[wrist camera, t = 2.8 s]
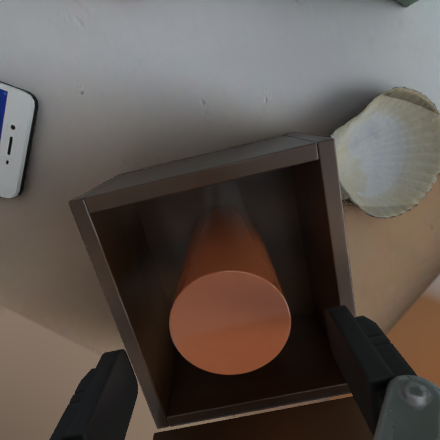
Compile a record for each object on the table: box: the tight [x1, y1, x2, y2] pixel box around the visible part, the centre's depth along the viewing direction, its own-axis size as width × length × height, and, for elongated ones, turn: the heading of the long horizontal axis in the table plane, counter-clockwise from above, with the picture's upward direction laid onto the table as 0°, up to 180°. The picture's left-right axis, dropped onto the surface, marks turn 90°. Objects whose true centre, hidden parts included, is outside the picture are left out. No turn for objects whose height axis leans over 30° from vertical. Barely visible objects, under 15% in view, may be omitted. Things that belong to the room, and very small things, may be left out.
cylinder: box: [169, 206, 291, 375], centre depth 18 cm, size 5×5×10 cm
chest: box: [69, 132, 356, 429], centre depth 20 cm, size 15×13×8 cm
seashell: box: [330, 87, 440, 218], centre depth 21 cm, size 8×3×8 cm
